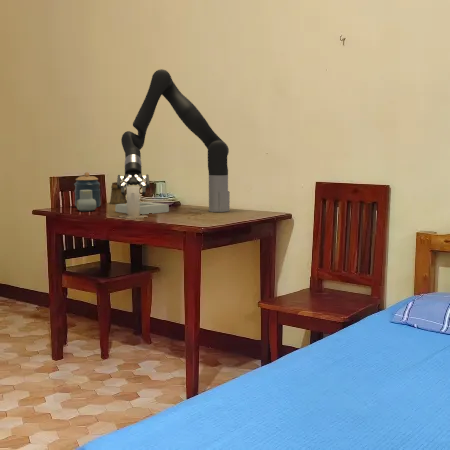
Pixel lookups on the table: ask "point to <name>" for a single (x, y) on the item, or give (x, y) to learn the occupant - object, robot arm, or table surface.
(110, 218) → the table surface
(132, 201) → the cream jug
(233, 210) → the table surface
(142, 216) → the cork coaster
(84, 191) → the air freshener
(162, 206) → the board
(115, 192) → the wooden mug
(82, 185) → the canister
